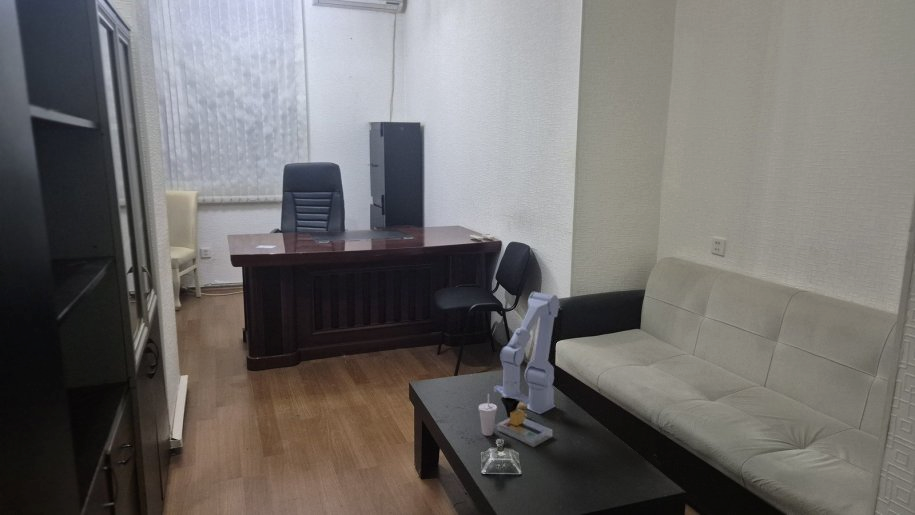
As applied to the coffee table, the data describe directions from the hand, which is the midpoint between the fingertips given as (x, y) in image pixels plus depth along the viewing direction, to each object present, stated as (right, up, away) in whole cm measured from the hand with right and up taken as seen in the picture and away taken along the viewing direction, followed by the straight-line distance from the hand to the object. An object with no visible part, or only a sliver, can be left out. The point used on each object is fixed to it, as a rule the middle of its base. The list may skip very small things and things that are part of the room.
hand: (510, 416), depth 208 cm
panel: (+4, -5, -4) cm, 7 cm away
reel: (+4, -2, +8) cm, 10 cm away
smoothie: (-8, -5, -4) cm, 10 cm away
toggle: (+2, -1, -2) cm, 3 cm away
